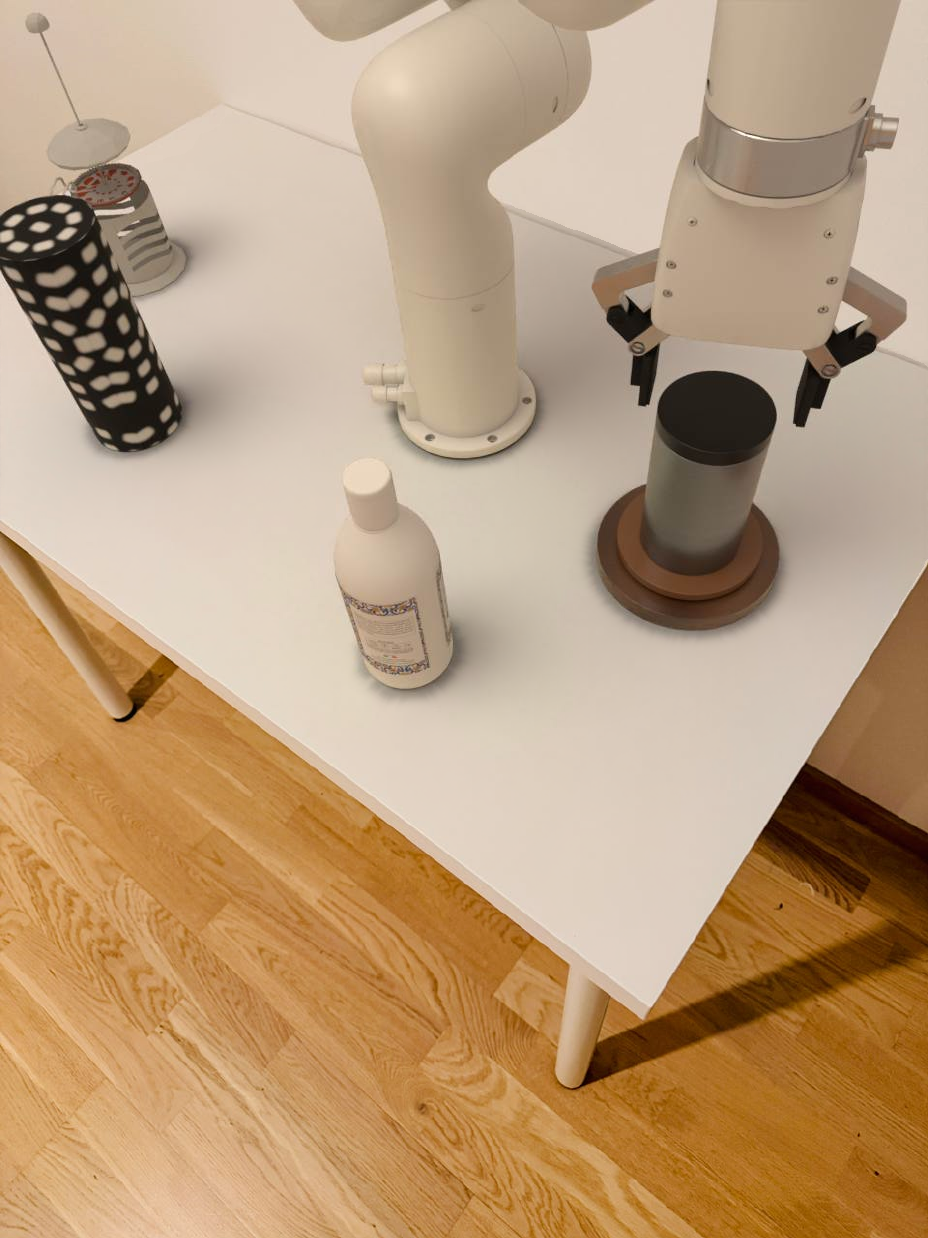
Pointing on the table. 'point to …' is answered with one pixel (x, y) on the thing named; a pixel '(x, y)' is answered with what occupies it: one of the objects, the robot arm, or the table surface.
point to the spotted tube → (87, 320)
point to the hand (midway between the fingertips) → (722, 401)
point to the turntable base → (679, 610)
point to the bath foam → (391, 581)
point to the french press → (114, 194)
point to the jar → (700, 488)
